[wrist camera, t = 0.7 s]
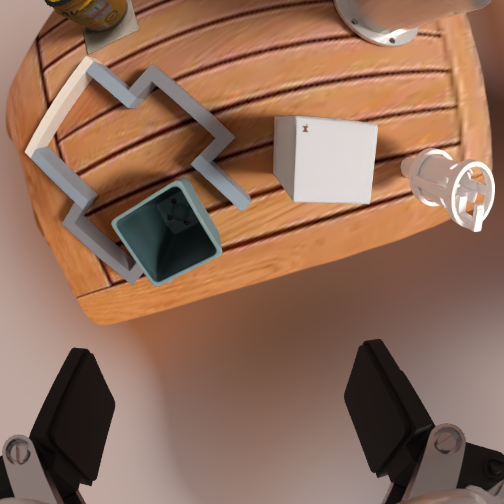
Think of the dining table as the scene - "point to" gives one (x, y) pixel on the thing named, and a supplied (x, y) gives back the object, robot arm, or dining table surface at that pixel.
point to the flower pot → (169, 233)
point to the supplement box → (324, 158)
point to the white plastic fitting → (450, 185)
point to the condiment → (99, 19)
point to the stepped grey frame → (130, 99)
